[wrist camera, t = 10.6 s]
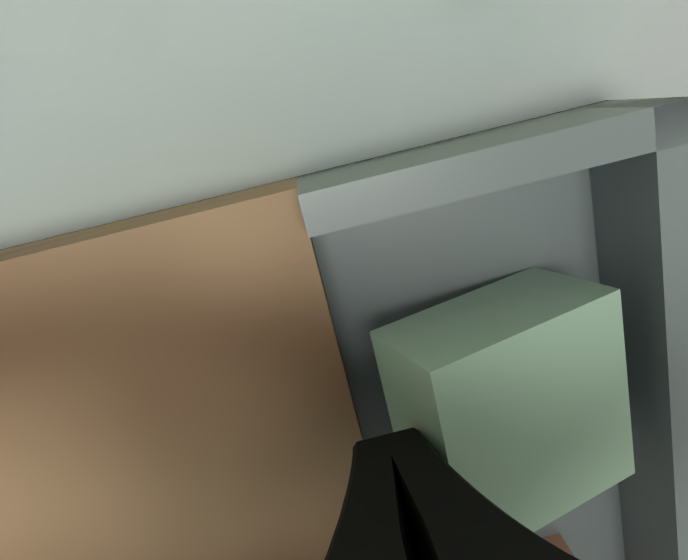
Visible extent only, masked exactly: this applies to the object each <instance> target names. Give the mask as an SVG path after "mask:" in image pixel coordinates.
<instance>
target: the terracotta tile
mask: <svg viewBox="0 0 688 560" xmlns="http://www.w3.org/2000/svg"><path fill="white" fill-rule="evenodd" d="M543 539H545V540H547V541H548V542H550V543H552V544H553V545H555V546H557V547H558V548H560V549H561V550H563V551H565V552H566V553H568V554H570V555H572V556H574V555H573V553H572V552H571V550H570V549H569V547H568V546H567V544H566V542H565V541H564V539H563V538H562V536H561V535H560V533H558V534H555V535H551V536H547V537H543Z"/></svg>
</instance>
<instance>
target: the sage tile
mask: <svg viewBox="0 0 688 560" xmlns="http://www.w3.org/2000/svg"><path fill="white" fill-rule="evenodd" d="M370 336H371V340H372V345H373V349H374V353H375V357H376V362H377V366H378V370H379V374H380V378H381V383H382V387H383V391H384V395H385V399H386V404H387V408H388V412H389V416H390V420H391V425H392V429H393V432H397V431H401V430H404V429H408V428H412V427H414V428H415V429H417V430H419V431H420V433H421V434H422V435H423V437H424V438H425V439H426V440H427V442H428V443H429V444H430V445H431V446H432V447H433V448H434V449H435V451H436V452H437V453H438V454H439V455H440V456H441V457H442V458H443V459H444V460H445V461H446V462H447V463H448V464H449V465H450V466H451V467H452V468H453V469H454V470H455V471H456V472H458V473H459V474H460V475H461V476H462V477H463V478H464V479H465V480H466V481H467V482H468V483H470V484H471V485H472V486H473V487H474V488H475V489H477V490H478V491H479V492H480V493H481V494H482V495H484V496H485V497H486V498H487V499H489V500H490V501H491V502H492V503H494V504H495V505H496V506H498V507H499V508H500V509H501V510H503V511H504V512H505V513H507V514H508V515H509V516H511V517H512V518H514V519H515V520H516V521H518V522H519V523H521V524H522V525H524V526H525V527H527V528H528V529H530V530H531V531H533V532H535V531H537V530H539V529H540V528H542V527H544V526H545V525H547V524H549V523H550V522H552V521H554V520H556V519H557V518H559V517H561V516H562V515H564V514H566V513H568V512H569V511H571V510H573V509H574V508H576V507H578V506H580V505H581V504H583V503H585V502H586V501H588V500H590V499H591V498H593V497H595V496H597V495H598V494H600V493H602V492H603V491H605V490H607V489H609V488H610V487H612V486H614V485H615V484H617V483H619V482H621V481H622V480H624V479H626V478H627V477H629V476H631V475H632V474H634V473H635V465H634V453H633V440H632V428H631V416H630V403H629V391H628V378H627V366H626V354H625V341H624V329H623V316H622V304H621V292H620V289H618V288H614V287H611V286H607V285H603V284H599V283H595V282H591V281H587V280H583V279H580V278H576V277H572V276H568V275H564V274H560V273H556V272H552V271H548V270H545V269H541V268H537V267H532V268H529V269H526V270H524V271H521V272H519V273H516V274H514V275H511V276H509V277H506V278H504V279H501V280H499V281H496V282H494V283H491V284H489V285H486V286H484V287H481V288H478V289H476V290H473V291H471V292H468V293H466V294H463V295H461V296H458V297H456V298H453V299H451V300H448V301H446V302H443V303H441V304H438V305H436V306H433V307H431V308H428V309H425V310H423V311H420V312H418V313H415V314H413V315H410V316H408V317H405V318H403V319H400V320H398V321H395V322H393V323H390V324H388V325H385V326H383V327H380V328H377V329H375V330H372V331H370Z"/></svg>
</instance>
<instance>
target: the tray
mask: <svg viewBox="0 0 688 560" xmlns="http://www.w3.org/2000/svg"><path fill="white" fill-rule="evenodd" d="M297 195H298V199H299V203H300V207H301V211H302V215H303V218H304V222H305V226H306V230H307V234H308V238H311V237H312V241H313V245H314V248H315V252H316V256H317V260H318V264H319V268H320V272H321V276H322V279H323V283H324V287H325V291H326V295H327V299H328V303H329V307H330V310H331V314H332V318H333V322H334V326H335V330H336V334H337V338H338V341H339V345H340V349H341V353H342V357H343V361H344V365H345V369H346V372H347V376H348V380H349V384H350V388H351V392H352V396H353V400H354V403H355V407H356V411H357V415H358V419H359V423H360V427H361V431H362V434H363V438H364V440H365V439H369V438H373V437H377V436H381V435H385V434H389V433H393V429H392V425H391V420H390V416H389V412H388V408H387V404H386V399H385V395H384V391H383V387H382V383H381V378H380V374H379V370H378V366H377V362H376V357H375V353H374V349H373V345H372V340H371V336H370V331H372V330H375V329H377V328H380V327H383V326H385V325H388V324H390V323H393V322H395V321H398V320H400V319H403V318H405V317H408V316H410V315H413V314H415V313H418V312H420V311H423V310H425V309H428V308H431V307H433V306H436V305H438V304H441V303H443V302H446V301H448V300H451V299H453V298H456V297H458V296H461V295H463V294H466V293H468V292H471V291H473V290H476V289H478V288H481V287H484V286H486V285H489V284H491V283H494V282H496V281H499V280H501V279H504V278H506V277H509V276H511V275H514V274H516V273H519V272H521V271H524V270H526V269H529V268H532V267H537V268H541V269H545V270H548V271H552V272H556V273H560V274H564V275H568V276H572V277H576V278H580V279H583V280H587V281H591V282H595V283H599V284H603V285H607V286H611V287H614V288H618V289H620V292H621V304H622V316H623V329H624V341H625V354H626V366H627V378H628V391H629V403H630V416H631V428H632V440H633V453H634V465H635V473H634V474H632V475H631V476H629V477H627V478H626V479H624V480H622V481H621V482H619V483H617V484H615V485H614V486H612V487H610V488H609V489H607V490H605V491H603V492H602V493H600V494H598V495H597V496H595V497H593V498H591V499H590V500H588V501H586V502H585V503H583V504H581V505H580V506H578V507H576V508H574V509H573V510H571V511H569V512H568V513H566V514H564V515H562V516H561V517H559V518H557V519H556V520H554V521H552V522H550V523H549V524H547V525H545V526H544V527H542V528H540V529H539V530H537V531H535V532H534V533H536V534H537V535H539V536H540V537H542V538H543V537H547V536H551V535H555V534H558V533H560V535H561V536H562V538H563V539H564V541H565V542H566V544H567V546H568V547H569V549H570V550H571V552H572V553H573V555H574V557H576V558H578V559H580V560H688V97H672V98H650V99H628V100H606V101H602V102H598V103H594V104H589V105H585V106H581V107H577V108H573V109H569V110H565V111H561V112H557V113H553V114H549V115H545V116H541V117H537V118H533V119H529V120H525V121H521V122H517V123H513V124H509V125H505V126H501V127H496V128H492V129H488V130H484V131H480V132H476V133H472V134H468V135H464V136H460V137H456V138H452V139H448V140H444V141H440V142H436V143H432V144H428V145H424V146H420V147H416V148H412V149H408V150H403V151H399V152H395V153H391V154H387V155H383V156H379V157H375V158H371V159H367V160H363V161H359V162H355V163H351V164H347V165H343V166H339V167H335V168H331V169H327V170H323V171H319V172H315V173H310V174H306V175H302V176H298V177H297Z"/></svg>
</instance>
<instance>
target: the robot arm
mask: <svg viewBox="0 0 688 560" xmlns="http://www.w3.org/2000/svg"><path fill="white" fill-rule="evenodd" d="M324 560H580V559H578V558H576V557H574V556H572V555H570V554H568V553H566V552H565V551H563V550H561V549H560V548H558V547H557V546H555V545H553V544H552V543H550V542H548V541H547V540H545V539H543V538H542V537H540V536H539V535H537V534H536V533H534V532H533V531H531V530H530V529H528V528H527V527H525V526H524V525H522V524H521V523H519V522H518V521H516V520H515V519H514V518H512V517H511V516H509V515H508V514H507V513H505V512H504V511H503V510H501V509H500V508H499V507H498V506H496V505H495V504H494V503H492V502H491V501H490V500H489V499H487V498H486V497H485V496H484V495H482V494H481V493H480V492H479V491H478V490H477V489H475V488H474V487H473V486H472V485H471V484H470V483H468V482H467V481H466V480H465V479H464V478H463V477H462V476H461V475H460V474H459V473H458V472H456V471H455V470H454V469H453V468H452V467H451V466H450V465H449V464H448V463H447V462H446V461H445V460H444V459H443V458H442V457H441V456H440V455H439V454H438V453H437V452H436V451H435V449H434V448H433V447H432V446H431V445H430V444H429V443H428V442H427V440H426V439H425V438H424V437H423V435H422V434H421V433H420V431H419V430H417V429H415V428H414V427H412V428H408V429H404V430H401V431H397V432H393V433H389V434H385V435H381V436H377V437H373V438H369V439H365V440H361V441H358V442H356V444H355V445H354V446H353V455H352V464H351V471H350V476H349V481H348V486H347V490H346V494H345V497H344V501H343V505H342V509H341V513H340V516H339V519H338V522H337V525H336V528H335V531H334V534H333V537H332V540H331V543H330V546H329V549H328V551H327V554H326V556H325V559H324Z"/></svg>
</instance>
